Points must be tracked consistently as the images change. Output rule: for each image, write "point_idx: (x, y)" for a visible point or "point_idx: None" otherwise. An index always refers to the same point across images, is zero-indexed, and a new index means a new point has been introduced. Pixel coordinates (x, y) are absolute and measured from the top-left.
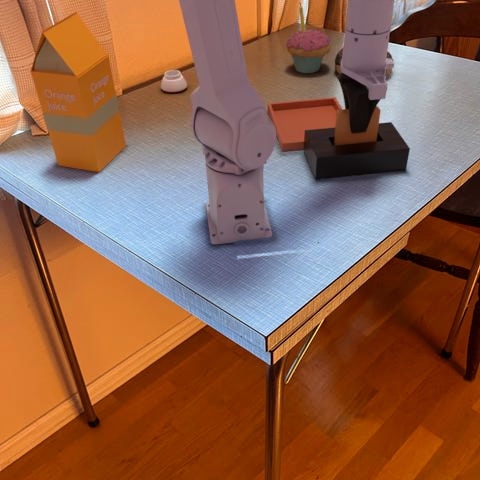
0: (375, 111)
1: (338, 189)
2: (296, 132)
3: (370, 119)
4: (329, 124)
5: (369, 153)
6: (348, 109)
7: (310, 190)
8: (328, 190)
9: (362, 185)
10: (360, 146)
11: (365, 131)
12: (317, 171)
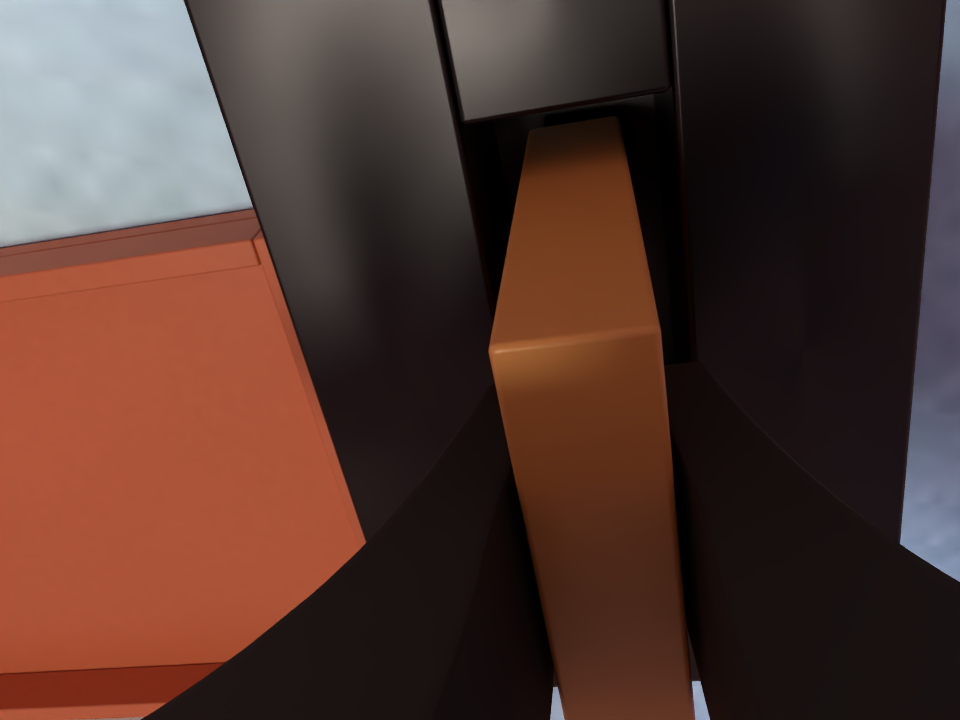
0: (662, 396)
1: (957, 397)
2: (186, 582)
3: (757, 426)
4: (13, 385)
5: (920, 274)
6: (582, 698)
7: (916, 550)
8: (950, 457)
9: (952, 226)
10: (771, 350)
11: (709, 370)
12: None
